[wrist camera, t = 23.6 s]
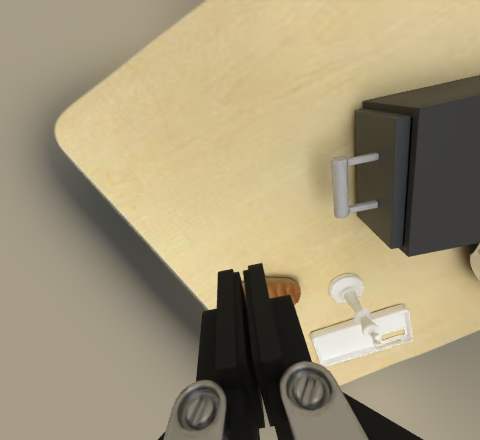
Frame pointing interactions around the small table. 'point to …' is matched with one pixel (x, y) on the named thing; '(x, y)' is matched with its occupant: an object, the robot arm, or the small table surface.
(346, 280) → the chess piece
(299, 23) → the small table surface
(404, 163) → the drawer
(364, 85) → the small table surface
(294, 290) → the pastry
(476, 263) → the milk container
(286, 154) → the small table surface
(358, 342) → the phone case
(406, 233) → the cabinet
